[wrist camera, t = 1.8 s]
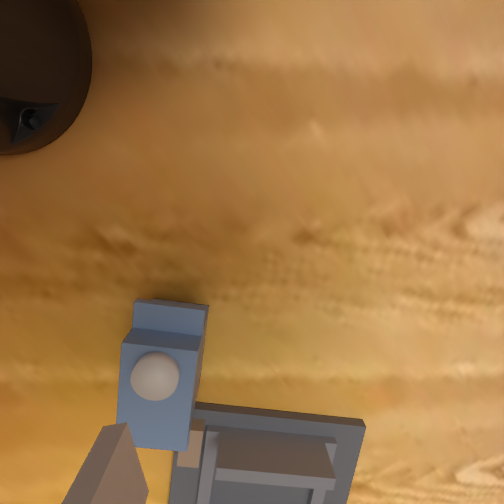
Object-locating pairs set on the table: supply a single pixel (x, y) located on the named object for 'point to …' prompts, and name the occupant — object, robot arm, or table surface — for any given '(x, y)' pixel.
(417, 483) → the table surface
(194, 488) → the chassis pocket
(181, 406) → the block
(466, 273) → the table surface
